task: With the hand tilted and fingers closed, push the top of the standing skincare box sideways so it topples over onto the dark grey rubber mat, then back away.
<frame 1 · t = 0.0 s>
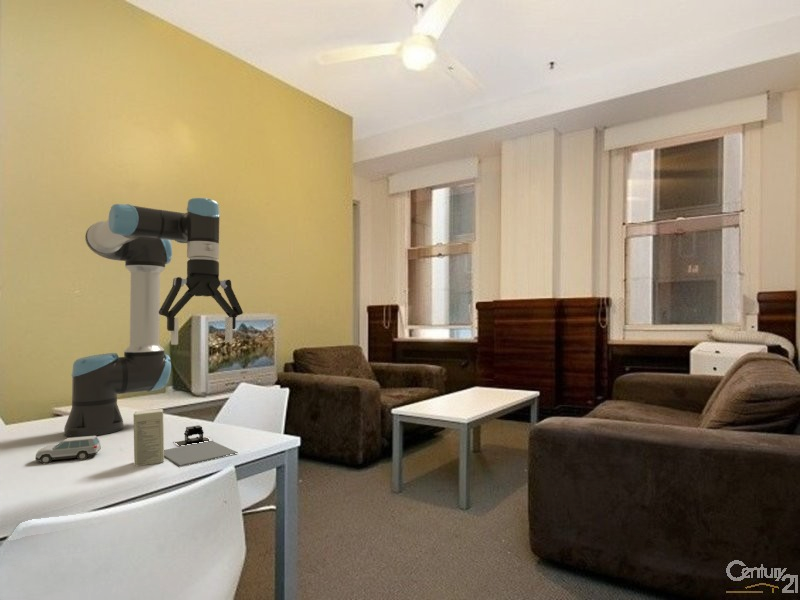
hand: (202, 343, 118), 28 cm above the table, tool pointing down, fingers open, 13 cm apart
toy car: (68, 460, 115), on the table
black arched bracket: (193, 444, 130), on the table
skincare box: (148, 463, 112), on the table
mat: (197, 453, 119), on the table
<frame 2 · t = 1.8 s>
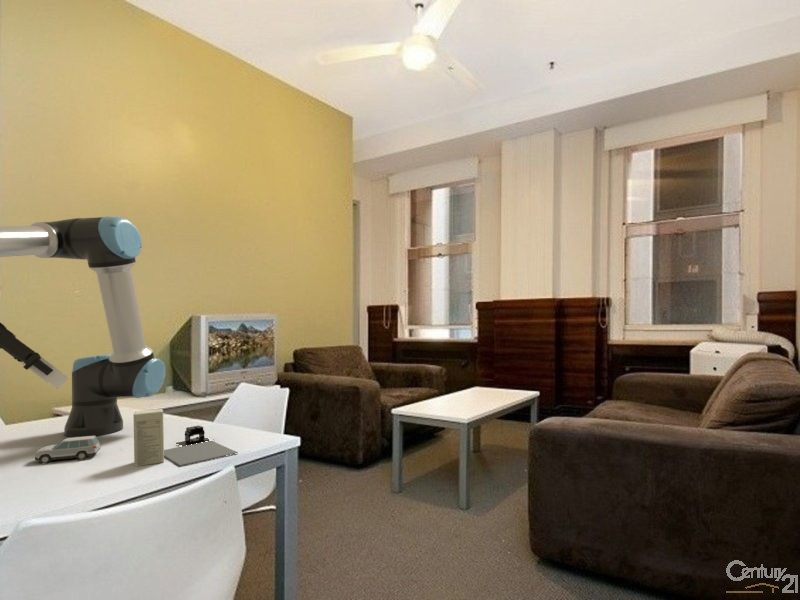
hand: (58, 380, 100), 21 cm above the table, tool tilted 45°, fingers open, 11 cm apart
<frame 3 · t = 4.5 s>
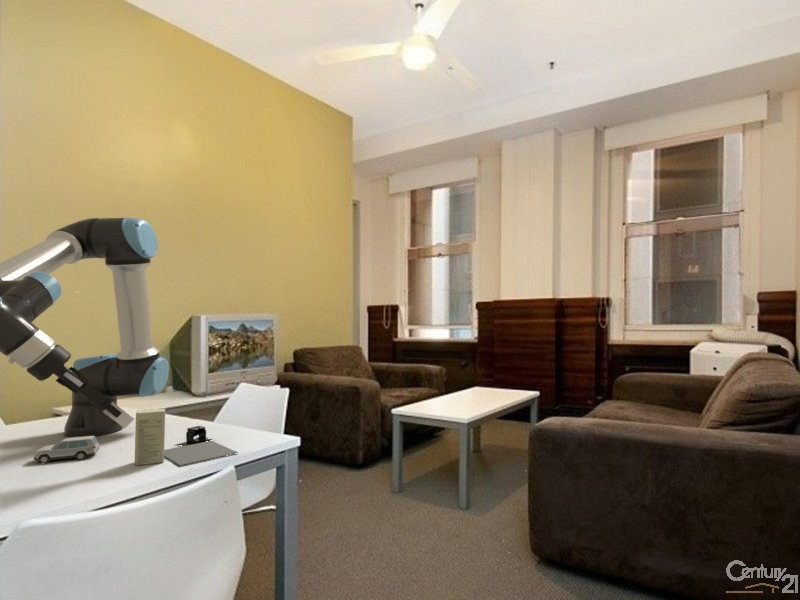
hand: (128, 423, 109), 10 cm above the table, tool tilted 45°, fingers closed
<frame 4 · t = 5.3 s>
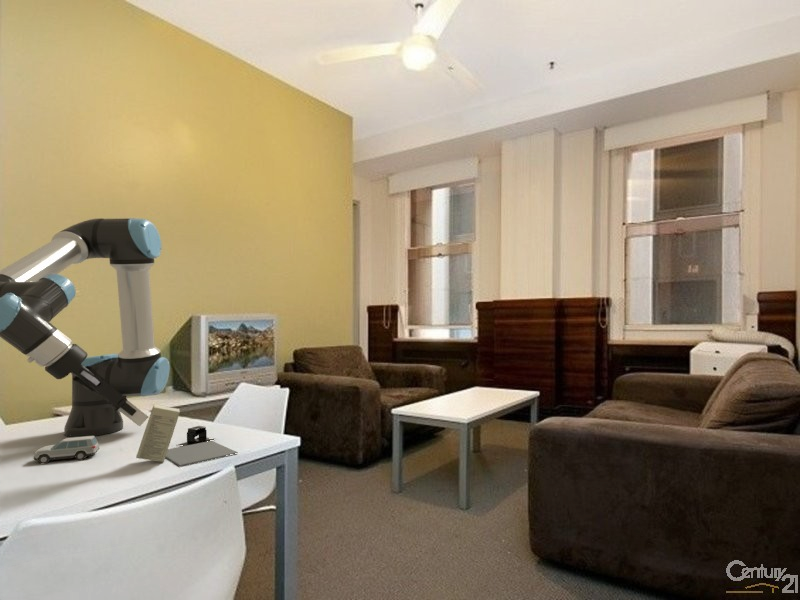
hand: (143, 421, 111), 10 cm above the table, tool tilted 45°, fingers closed
skincare box: (149, 458, 112), point 1 cm above the table, touching gripper
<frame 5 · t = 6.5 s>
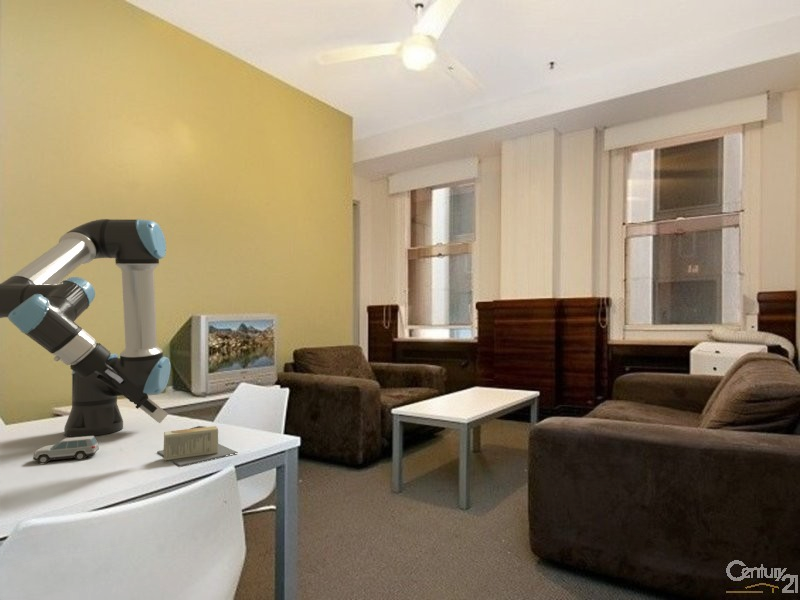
hand: (163, 418, 114), 10 cm above the table, tool tilted 45°, fingers closed
skincare box: (162, 445, 113), point 4 cm above the table, touching mat
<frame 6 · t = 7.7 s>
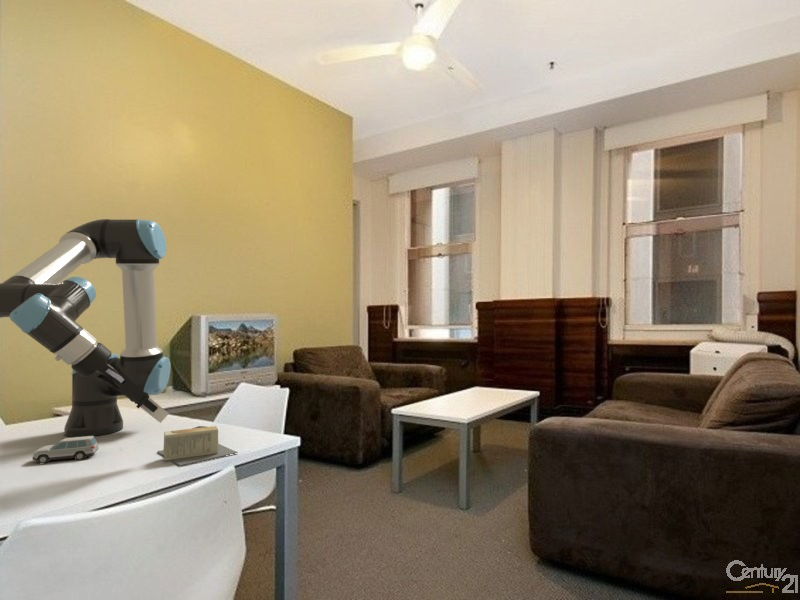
hand: (163, 417, 114), 10 cm above the table, tool tilted 45°, fingers closed
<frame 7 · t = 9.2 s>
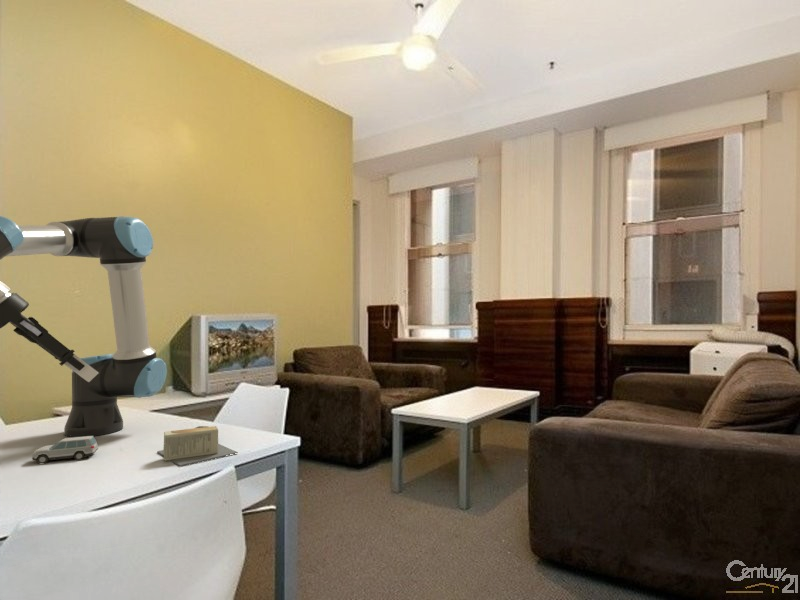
hand: (93, 377, 106), 21 cm above the table, tool tilted 45°, fingers closed
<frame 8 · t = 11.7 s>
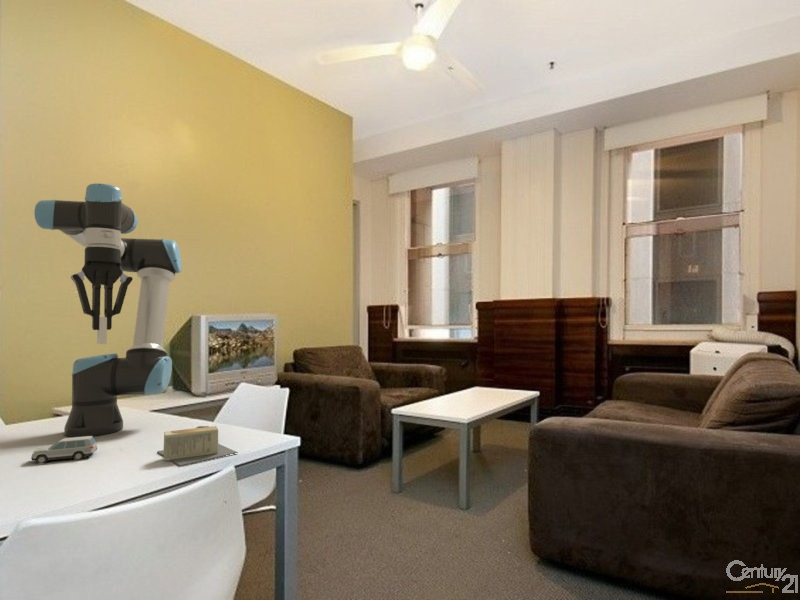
hand: (101, 343, 114), 28 cm above the table, tool pointing down, fingers closed
at the end: skincare box tilted 91°; skincare box inside the target area (4.7 cm from its centre), point 3.6 cm above the table; the gripper is holding nothing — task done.
